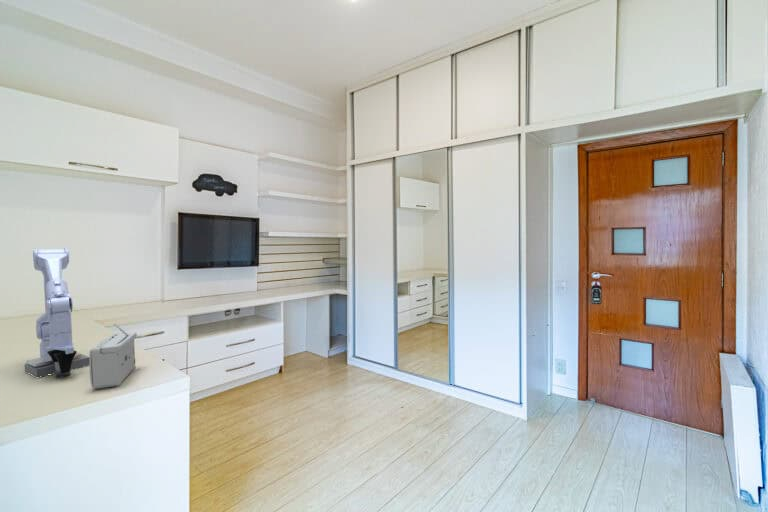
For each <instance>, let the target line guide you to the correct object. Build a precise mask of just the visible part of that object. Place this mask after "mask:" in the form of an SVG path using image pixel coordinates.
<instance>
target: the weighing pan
mask: <svg viewBox="0 0 768 512" xmlns="http://www.w3.org/2000/svg"><path fill="white" fill-rule="evenodd" d="M81 354H82V353H79V352H78V351H77V352H76V354H75V356H74V358H77V357H81ZM26 363H28V364H30V365H32V366H34V367H36V366H41V365H45V364H50V363H53V361H52V359H51V357H50V356H46V357H41V358H40V357H37V358H33V359H27V360H26Z"/></svg>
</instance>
